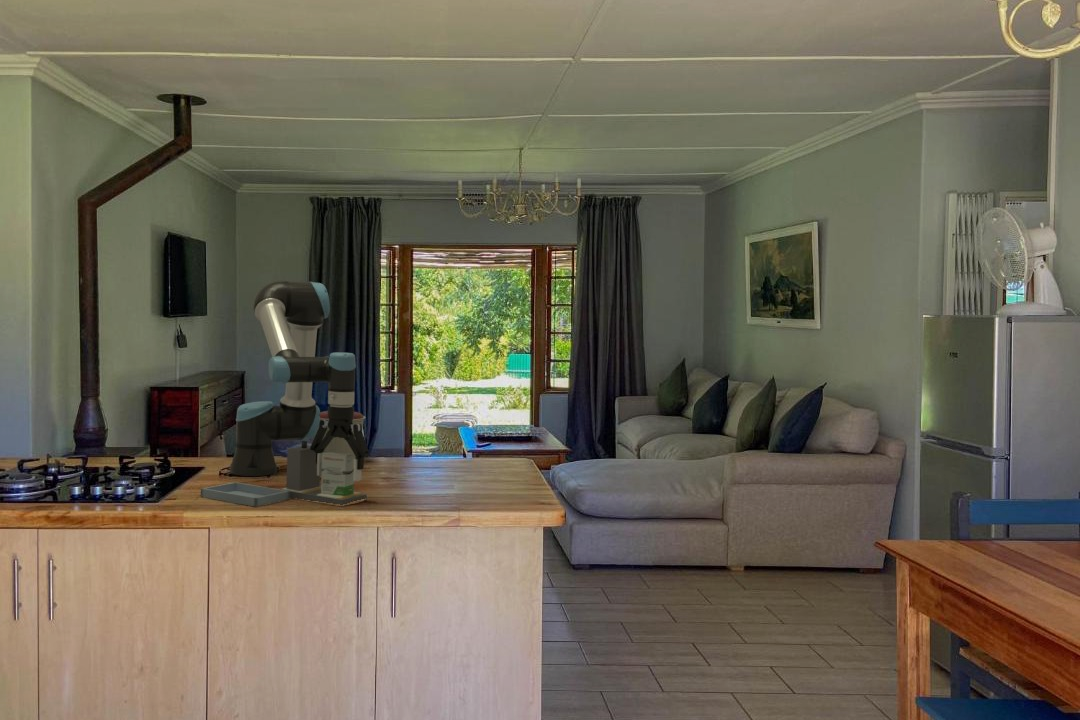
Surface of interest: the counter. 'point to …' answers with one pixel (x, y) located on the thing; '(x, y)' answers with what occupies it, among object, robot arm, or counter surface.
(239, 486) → the tray
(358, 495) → the board with cream panels
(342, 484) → the ink box
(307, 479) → the dark grey tall block
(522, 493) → the counter surface
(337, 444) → the canister
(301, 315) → the robot arm
